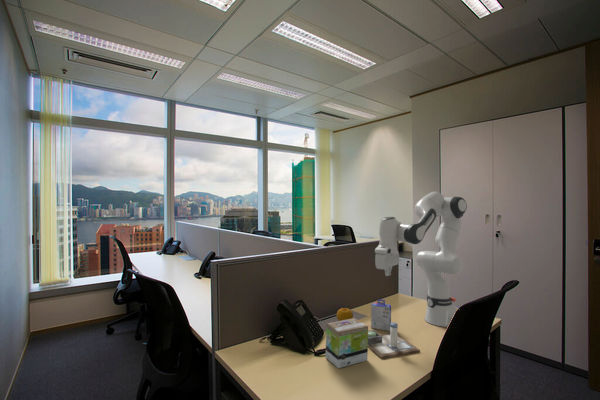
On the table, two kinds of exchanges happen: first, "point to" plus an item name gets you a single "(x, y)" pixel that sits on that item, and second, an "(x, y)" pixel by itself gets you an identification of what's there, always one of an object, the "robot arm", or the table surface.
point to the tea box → (346, 342)
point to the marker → (393, 335)
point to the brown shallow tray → (389, 346)
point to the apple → (344, 314)
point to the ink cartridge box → (380, 315)
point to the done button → (371, 334)
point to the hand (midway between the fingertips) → (388, 275)
